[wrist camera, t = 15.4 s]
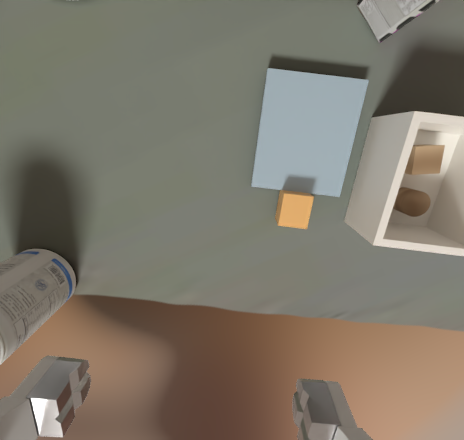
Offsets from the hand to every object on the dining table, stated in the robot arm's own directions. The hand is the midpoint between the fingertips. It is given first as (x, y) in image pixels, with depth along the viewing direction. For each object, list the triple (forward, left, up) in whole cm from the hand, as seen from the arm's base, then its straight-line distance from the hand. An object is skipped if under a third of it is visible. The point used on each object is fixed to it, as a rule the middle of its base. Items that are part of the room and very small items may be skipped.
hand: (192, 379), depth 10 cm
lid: (-8, +8, -26) cm, 28 cm away
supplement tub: (+14, -26, -26) cm, 39 cm away
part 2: (-4, +22, -25) cm, 33 cm away
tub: (-7, +21, -26) cm, 34 cm away
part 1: (-9, +21, -25) cm, 34 cm away
